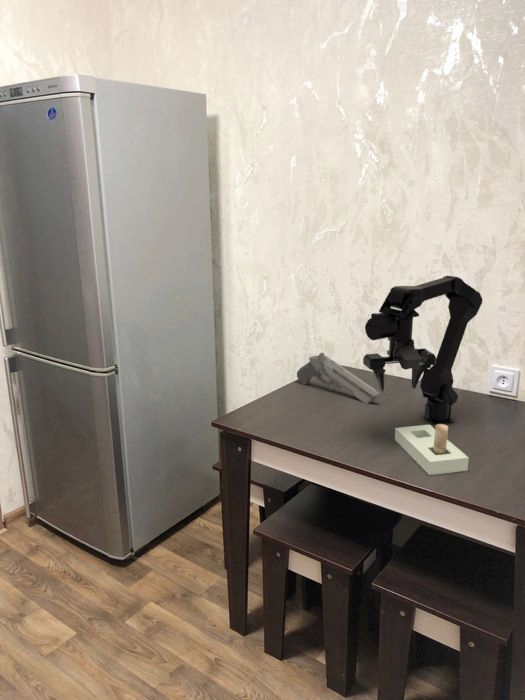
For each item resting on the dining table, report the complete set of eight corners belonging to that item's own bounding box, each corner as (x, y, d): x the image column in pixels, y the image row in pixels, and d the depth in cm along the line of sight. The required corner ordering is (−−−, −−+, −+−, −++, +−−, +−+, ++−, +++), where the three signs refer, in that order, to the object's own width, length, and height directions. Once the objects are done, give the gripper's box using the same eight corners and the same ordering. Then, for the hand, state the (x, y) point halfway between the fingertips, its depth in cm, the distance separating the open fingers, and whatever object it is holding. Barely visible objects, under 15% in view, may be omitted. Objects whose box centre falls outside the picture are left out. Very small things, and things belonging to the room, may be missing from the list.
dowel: (441, 460, 142) (444, 423, 139) (447, 465, 139) (450, 428, 137) (430, 461, 142) (433, 424, 139) (435, 466, 139) (439, 429, 136)
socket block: (394, 439, 154) (395, 428, 153) (428, 436, 156) (429, 424, 155) (429, 475, 135) (430, 462, 134) (467, 470, 137) (468, 457, 136)
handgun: (366, 427, 185) (382, 390, 178) (361, 430, 183) (376, 393, 176) (298, 376, 202) (310, 341, 194) (292, 379, 200) (304, 343, 192)
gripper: (379, 344, 141) (376, 403, 145) (448, 339, 144) (443, 397, 148) (363, 333, 151) (361, 388, 155) (428, 329, 154) (424, 383, 159)
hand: (397, 389), depth 154 cm, fingers open, 9 cm apart
